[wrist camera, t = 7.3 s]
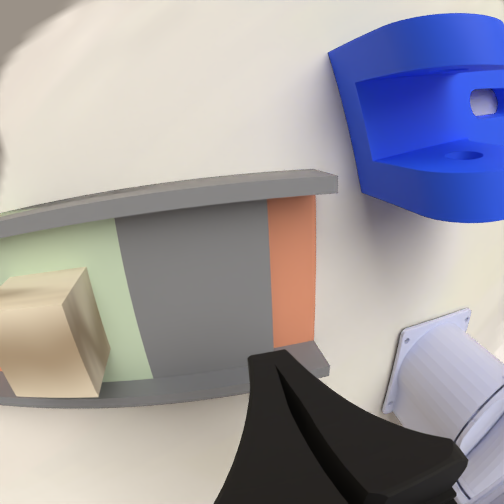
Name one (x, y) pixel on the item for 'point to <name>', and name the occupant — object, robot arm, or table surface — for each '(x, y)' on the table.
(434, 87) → the bracket
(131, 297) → the box
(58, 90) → the table surface
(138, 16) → the table surface
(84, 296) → the block
